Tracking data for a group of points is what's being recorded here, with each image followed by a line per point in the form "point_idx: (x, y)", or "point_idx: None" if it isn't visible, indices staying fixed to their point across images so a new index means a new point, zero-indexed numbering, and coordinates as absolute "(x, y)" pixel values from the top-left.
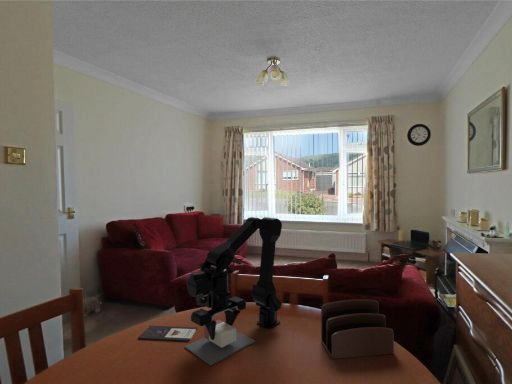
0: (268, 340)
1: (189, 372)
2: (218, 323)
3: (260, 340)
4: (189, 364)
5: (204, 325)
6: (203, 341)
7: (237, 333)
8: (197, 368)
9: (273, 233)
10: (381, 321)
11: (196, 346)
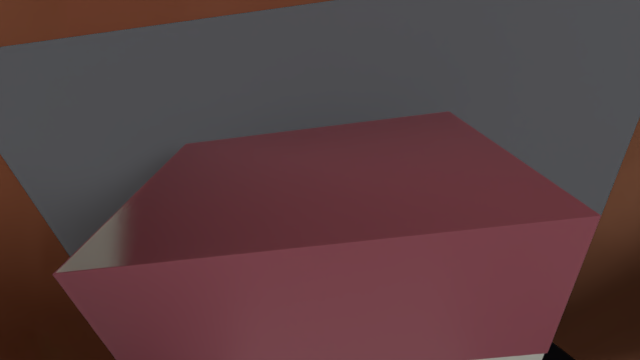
0: (615, 355)
1: (16, 356)
2: (414, 355)
3: (588, 333)
4: (17, 303)
5: (57, 272)
6: (195, 107)
7: (585, 192)
8: (72, 351)
9: None
10: None
11: (91, 153)
